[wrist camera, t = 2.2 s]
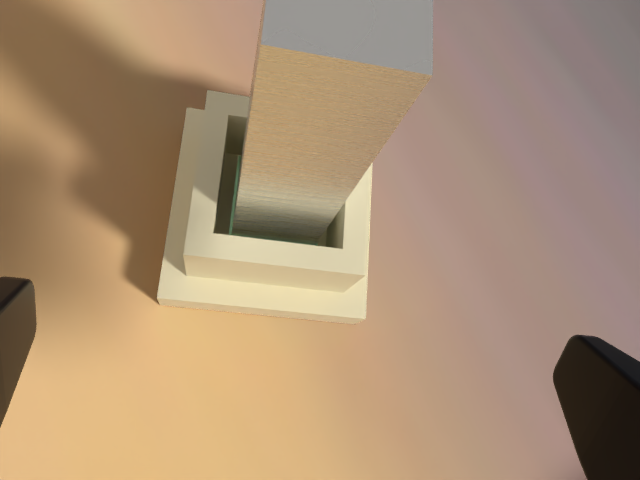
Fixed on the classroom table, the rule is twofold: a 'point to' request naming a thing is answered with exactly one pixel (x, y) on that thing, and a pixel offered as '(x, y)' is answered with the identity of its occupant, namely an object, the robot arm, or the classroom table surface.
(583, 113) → the classroom table surface
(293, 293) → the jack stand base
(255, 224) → the block
